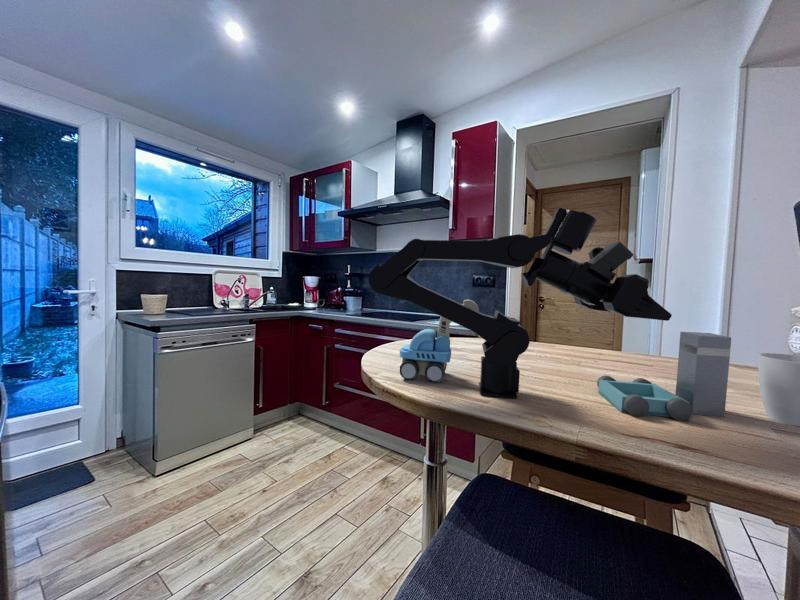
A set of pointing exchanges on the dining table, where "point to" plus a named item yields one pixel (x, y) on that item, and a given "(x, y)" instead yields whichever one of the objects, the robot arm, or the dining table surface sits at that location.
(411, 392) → the dining table surface
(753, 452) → the dining table surface
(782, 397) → the cup
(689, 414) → the chassis
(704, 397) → the grey tall block
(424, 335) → the toy excavator
